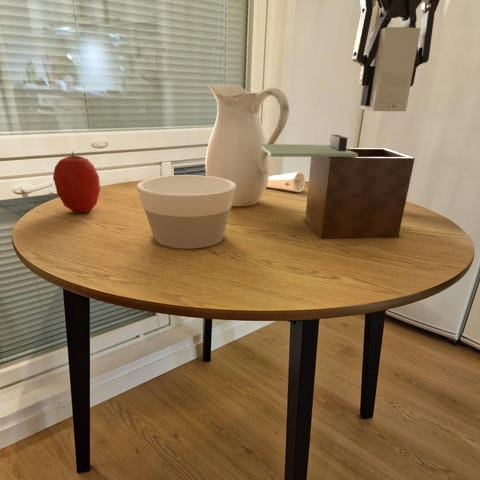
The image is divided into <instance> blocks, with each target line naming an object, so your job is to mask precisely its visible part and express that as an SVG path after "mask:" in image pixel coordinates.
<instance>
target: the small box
mask: <svg viewBox="0 0 480 480" xmlns="http://www.w3.org/2000/svg"><path fill="white" fill-rule="evenodd" d="M420 31H421V28H420V27H416V28H407V27H403V26H402V27H401V26H387V28H384V29H381V32H380V39H379V45H378V49H377V52H376V54H375V57H374V59H373V61H372V63H371V66H375V73H374V79H373V86H372V92H371V99H370V105H369V106H361V105H360V107H359V108H360V110H366V111H372V112H406V111H407V106H408V101H409V95H410V90H411V87H410V85H411V79H412V74H413V69H414V63H415V57H416V52H417V47H418V41H419V36H420ZM372 34H373V31H371V32H370V38H369V40H370V39H371V36H372Z"/></svg>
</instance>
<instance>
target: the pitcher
mask: <svg viewBox="0 0 480 480" xmlns="http://www.w3.org/2000/svg"><path fill="white" fill-rule="evenodd" d="M206 85H207V87H208V88H209V89H210V91H211V93H212V94H213V96H214V99H215V101H216V105H217V111H216V119H215V121H214V125H213V128H212V131H211V134H210V137H209V140H208V144H207V148H206V154H205V162H204V171H205V176H212V177H219V178H223V179H227V180H230V181H232V182H234V183H235V184H236V189H235V193H234V197H233V201H232V205H231V207H250V206H253V205H256V204H258V203H259V201H260V200H261V198H262V197H263V194H264V193H265V191H266V188H267V187H266V186H267V184H268V180H269V176H270V173H271V156H270V155H269V154H268V153H267V152H265V151H264V150H263V149H262V148H261V144H275V143H276V141H277V140H278V138H279V137H280V136H281V134H282V132H283V130H284V128H285V127H286V124H287V121H288V119H289V113H290V105H289V100H288V97H287V96H286V94H285V92H283V90H281V89H280V88H278V87H268V88H264V89H263V90H261V91H260V92H250V91H249V90H246V89H245V88H243V87H242V86H240V85H237V84H226V85H219V86H212V85H211V84H210V83H207V84H206ZM270 96H272V97H273V98H275V99H276V100H277V103H278V104H279V117H278V121H277V124H276V127H275V128H274V130H273V132H272V134H271V135H270V138H269V139H268V141H267V138H266V135H265V132H264V128H263V124H262V121H261V116H260V115H261V114H260V110H261V107H262V105H263V103H264V102H265V100H266V99H268V98H269V97H270Z"/></svg>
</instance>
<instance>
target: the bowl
mask: <svg viewBox="0 0 480 480" xmlns="http://www.w3.org/2000/svg"><path fill="white" fill-rule="evenodd" d="M136 189H137V192H138V195H139V198H140V201H141V205H142V206H143V208H144V212H145V215H146V217H147V221H148V224H149V227H150V229H151V230H150V231H151V232H152V235H153V239H154V240H155V242H156V243H157V244H159V245H162V246H164V247H168V248H173V249H183V250H184V249H185V250H187V249H188V250H189V249H191V250H192V249H193V250H194V249H202V248H208V247H212V246H214V245H215V246H216V245H217V244H219V243H220V242H222V241H223V239H224V237H225V236H224V235H225V232H226V228H227V224H228V220H229V216H230V213H231V208H232V206H231V205H232V201H233V197H234V193H235V189H236V184H235V183H234V182H232V181H230V180H227V179H223V178H219V177H212V176H206V175H199V174H175V175H162V176H156V177H151V178H147V179H144V180H141V181H139V182H138V183H137V184H136Z"/></svg>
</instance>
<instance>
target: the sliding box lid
mask: <svg viewBox="0 0 480 480" xmlns="http://www.w3.org/2000/svg"><path fill="white" fill-rule="evenodd" d="M347 145H348V137H346V136H343V135H340V134H330V139H329V144H279V143H278V144H275V143H274V144H261V148H262V149H263V150H264V151H265V152H267V153H268V154H269V155H270V158H272V157H273V158H274V157H275V158H276V157H277V158H278V157H282V158H285V157H287V158H289V157H290V158H294V157H295V158H296V157H297V158H311V157H358V154H357V153H355V152H353V151H350V150H348V149H346V148H347Z"/></svg>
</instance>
